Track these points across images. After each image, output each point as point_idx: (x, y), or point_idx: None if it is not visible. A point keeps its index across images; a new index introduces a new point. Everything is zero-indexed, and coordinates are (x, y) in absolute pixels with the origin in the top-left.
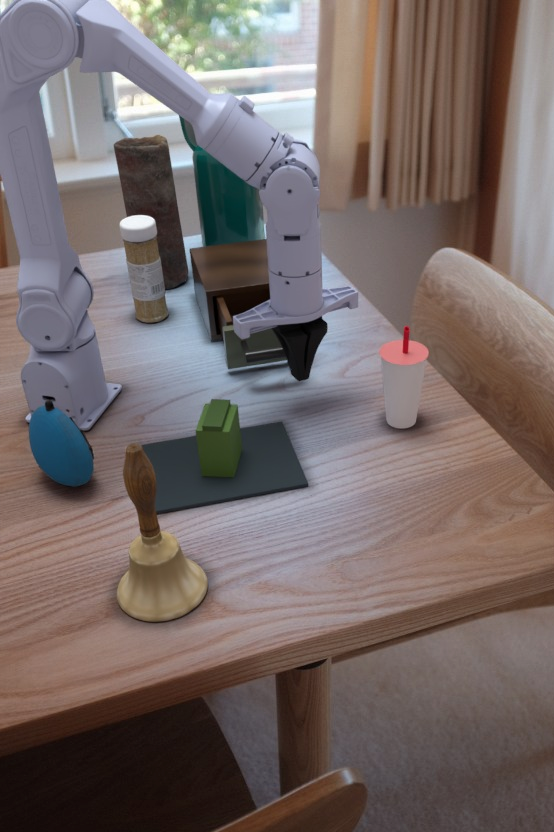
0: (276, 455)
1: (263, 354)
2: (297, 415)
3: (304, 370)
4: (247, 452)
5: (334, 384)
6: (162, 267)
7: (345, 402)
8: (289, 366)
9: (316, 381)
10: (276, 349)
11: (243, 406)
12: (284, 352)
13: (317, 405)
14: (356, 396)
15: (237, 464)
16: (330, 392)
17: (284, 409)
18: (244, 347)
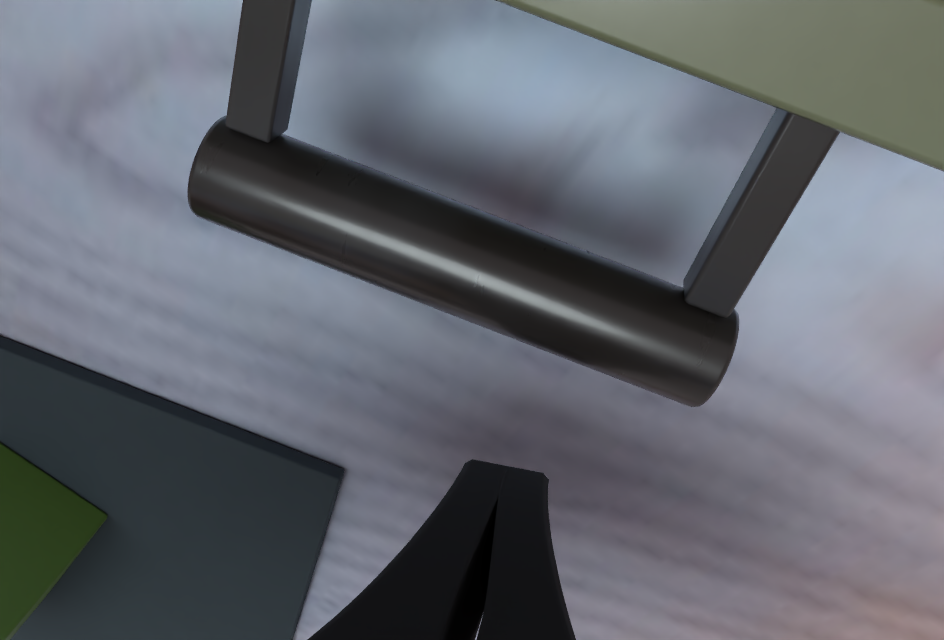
0: (220, 607)
1: (344, 273)
2: (443, 462)
3: (476, 631)
4: (125, 534)
5: (810, 383)
6: None
7: (715, 530)
8: (449, 491)
9: (749, 292)
10: (465, 310)
11: (234, 235)
12: (392, 561)
13: (579, 464)
14: (806, 531)
15: (64, 572)
16: (724, 425)
17: (414, 389)
18: (246, 38)
